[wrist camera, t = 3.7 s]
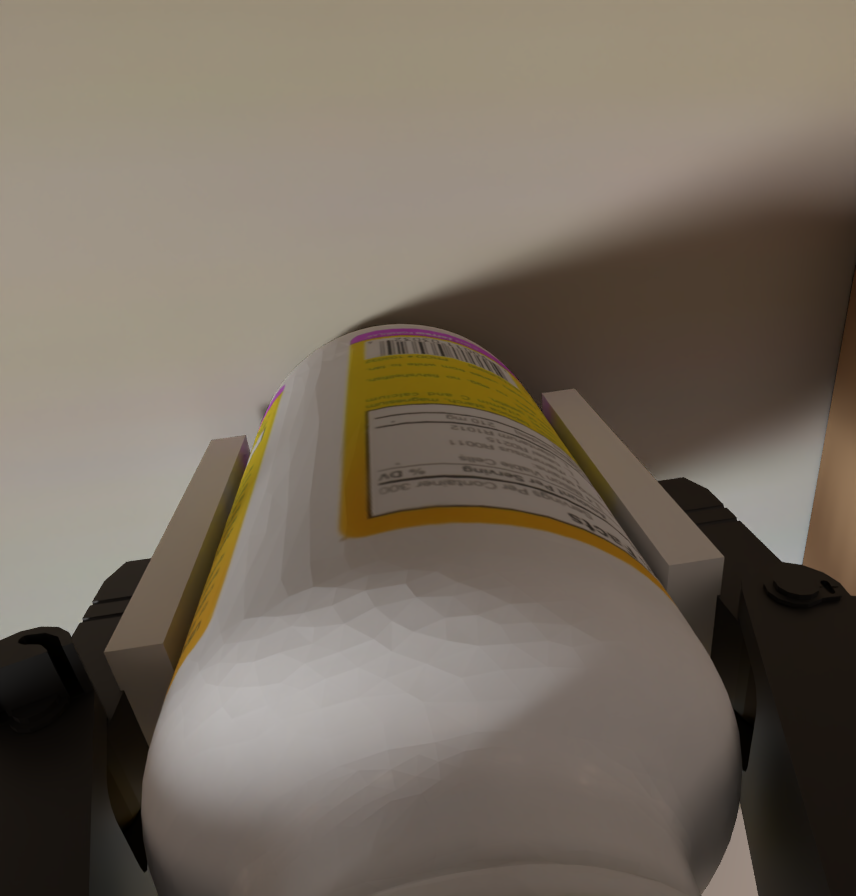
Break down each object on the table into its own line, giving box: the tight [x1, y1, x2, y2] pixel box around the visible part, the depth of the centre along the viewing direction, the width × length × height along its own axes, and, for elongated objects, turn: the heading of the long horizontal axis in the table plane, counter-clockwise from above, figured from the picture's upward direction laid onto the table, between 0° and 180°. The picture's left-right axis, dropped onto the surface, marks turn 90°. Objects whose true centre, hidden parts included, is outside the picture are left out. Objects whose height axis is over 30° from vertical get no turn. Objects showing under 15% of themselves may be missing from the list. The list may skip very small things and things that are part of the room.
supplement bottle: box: [141, 324, 742, 896], centre depth 10 cm, size 7×7×13 cm
